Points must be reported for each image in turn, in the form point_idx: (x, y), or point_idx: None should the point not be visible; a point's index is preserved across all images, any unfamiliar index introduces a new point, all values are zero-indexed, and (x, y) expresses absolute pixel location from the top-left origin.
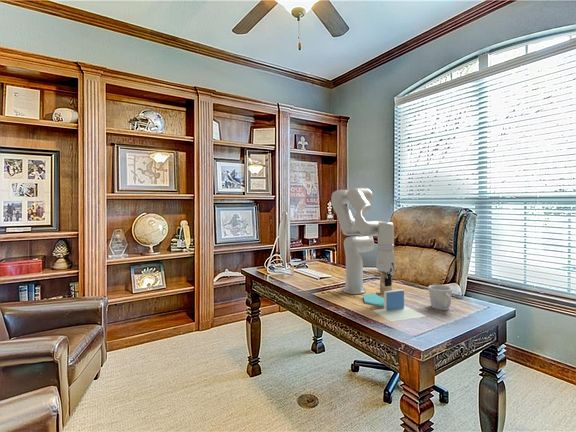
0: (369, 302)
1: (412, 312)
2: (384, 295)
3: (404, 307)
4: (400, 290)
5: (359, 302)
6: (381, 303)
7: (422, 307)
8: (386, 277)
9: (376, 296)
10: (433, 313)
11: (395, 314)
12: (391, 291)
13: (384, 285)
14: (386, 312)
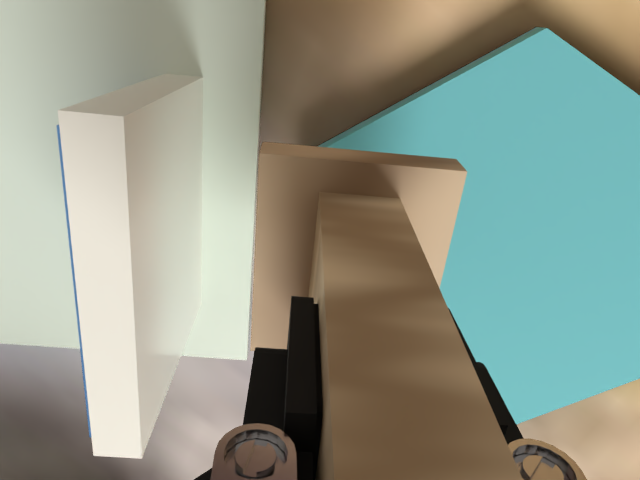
0: (483, 66)
1: (52, 300)
2: (132, 102)
3: (203, 326)
4: (87, 400)
5: (625, 6)
6: None
7: (180, 459)
8: (263, 449)
9: (599, 282)
10: (23, 439)
11: (38, 107)
12: (74, 242)
13: (318, 292)
14: (129, 55)
